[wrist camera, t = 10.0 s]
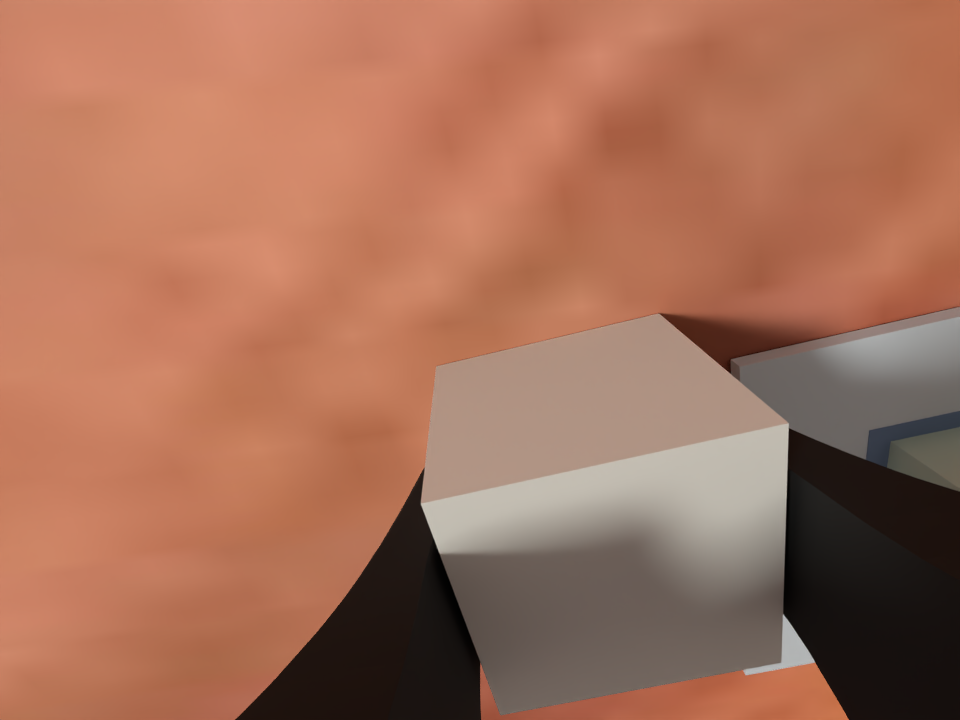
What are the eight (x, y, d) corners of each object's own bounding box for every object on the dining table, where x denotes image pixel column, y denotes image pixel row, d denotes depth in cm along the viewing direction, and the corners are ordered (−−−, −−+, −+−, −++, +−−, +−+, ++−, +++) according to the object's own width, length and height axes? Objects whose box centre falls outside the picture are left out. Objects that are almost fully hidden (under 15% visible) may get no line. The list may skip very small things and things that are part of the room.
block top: (487, 531, 13) (500, 715, 9) (436, 366, 11) (420, 503, 7) (675, 491, 12) (782, 663, 8) (658, 313, 10) (788, 423, 6)
